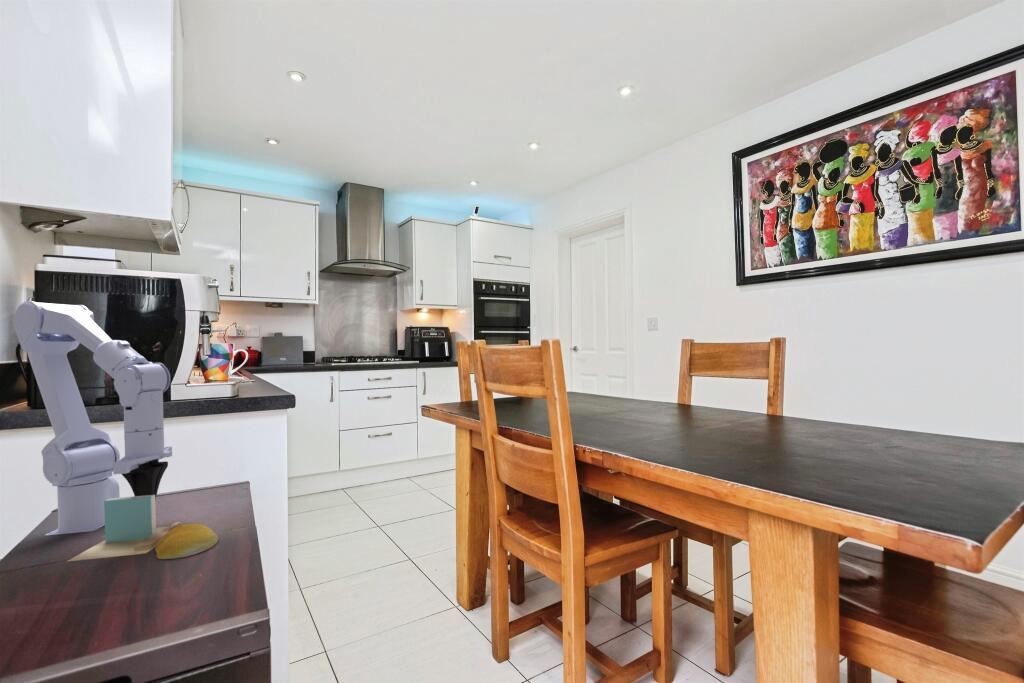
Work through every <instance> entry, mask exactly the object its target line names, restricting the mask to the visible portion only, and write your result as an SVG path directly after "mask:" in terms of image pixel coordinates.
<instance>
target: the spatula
mask: <svg viewBox="0 0 1024 683" xmlns="http://www.w3.org/2000/svg"><path fill="white" fill-rule="evenodd" d="M181 525H182V522H181V521H177V522H176V521H175V522H173V523H172V524H170V525H169V526H166V527H167V528H165V529H164V530H162V531H161V532H156V533H154V534H152V535H150V536H149V537H147V538H146V539H144V540H143V541H141V542H139V543H138V544H136V545H135V546H134V551H141V550H150V549H152V548H153V549H155V548H156V547H155V546H156V545H157V542H158V541H159V540H160V538H162V537H163V536H164V535H165V534H166V533H167V532H169V531H170V530H172V529H174V528H176V527H178V526H181ZM154 547H155V548H154ZM153 549H152V550H153ZM150 551H151V550H150Z"/></svg>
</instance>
